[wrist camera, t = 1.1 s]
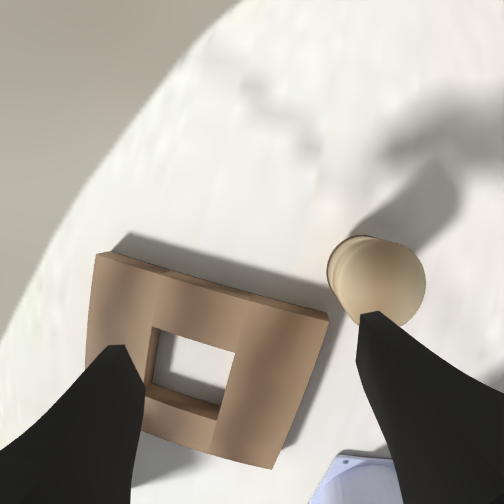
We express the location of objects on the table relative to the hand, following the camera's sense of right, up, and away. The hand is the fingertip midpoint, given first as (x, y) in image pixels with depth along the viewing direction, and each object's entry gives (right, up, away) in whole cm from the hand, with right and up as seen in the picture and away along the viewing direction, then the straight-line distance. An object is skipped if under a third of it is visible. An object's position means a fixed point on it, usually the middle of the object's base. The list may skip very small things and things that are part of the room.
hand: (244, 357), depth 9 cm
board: (-4, -5, +13) cm, 15 cm away
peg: (+7, +2, +11) cm, 14 cm away
